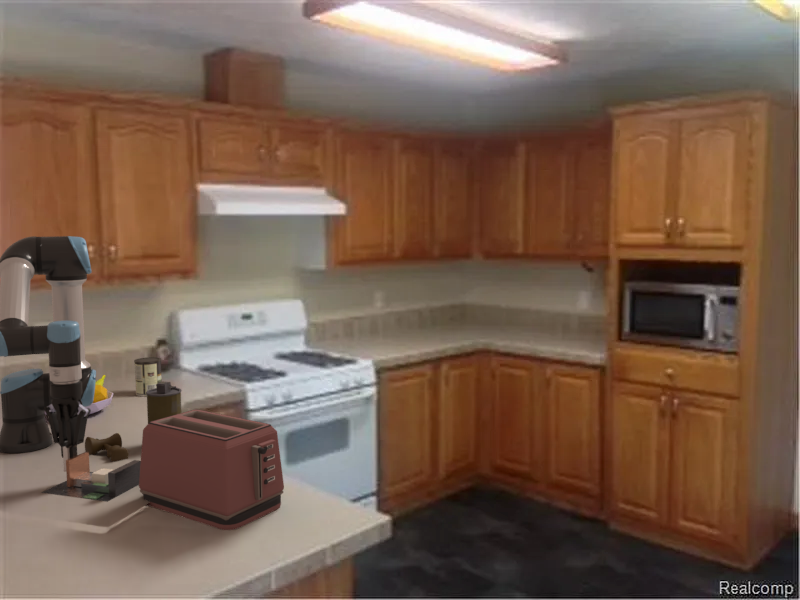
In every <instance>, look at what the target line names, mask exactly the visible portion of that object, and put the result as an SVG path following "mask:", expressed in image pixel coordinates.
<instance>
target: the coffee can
mask: <svg viewBox="0 0 800 600" xmlns="http://www.w3.org/2000/svg"><path fill="white" fill-rule="evenodd" d="M134 375H135V379H134V380H135V381H134V382H135V395H136V396H138V397H147V394H146V392H147V391H148V390H151V389H155V388H157V386H156V384H158V383H159V382H161V381H162V358H160V357H154V356H153V357H150V356H148V357H141V358H140V357H139V358H136V359H134ZM162 382H163V381H162Z"/></svg>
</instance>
